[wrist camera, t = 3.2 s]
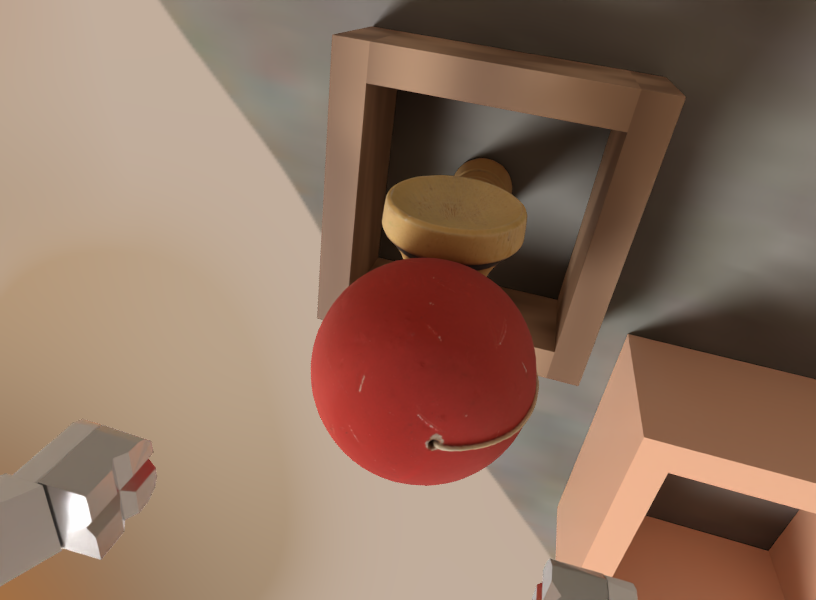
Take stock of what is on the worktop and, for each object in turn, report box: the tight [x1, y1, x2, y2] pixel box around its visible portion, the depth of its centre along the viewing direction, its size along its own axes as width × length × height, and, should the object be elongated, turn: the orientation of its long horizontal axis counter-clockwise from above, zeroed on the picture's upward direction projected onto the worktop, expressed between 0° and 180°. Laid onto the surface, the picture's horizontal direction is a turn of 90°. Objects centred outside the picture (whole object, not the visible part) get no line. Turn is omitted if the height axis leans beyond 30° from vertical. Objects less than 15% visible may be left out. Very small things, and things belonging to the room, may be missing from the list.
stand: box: [556, 334, 816, 600], centre depth 29 cm, size 14×14×8 cm
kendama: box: [311, 158, 539, 486], centre depth 20 cm, size 8×6×18 cm
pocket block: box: [317, 26, 686, 386], centre depth 26 cm, size 13×13×5 cm
